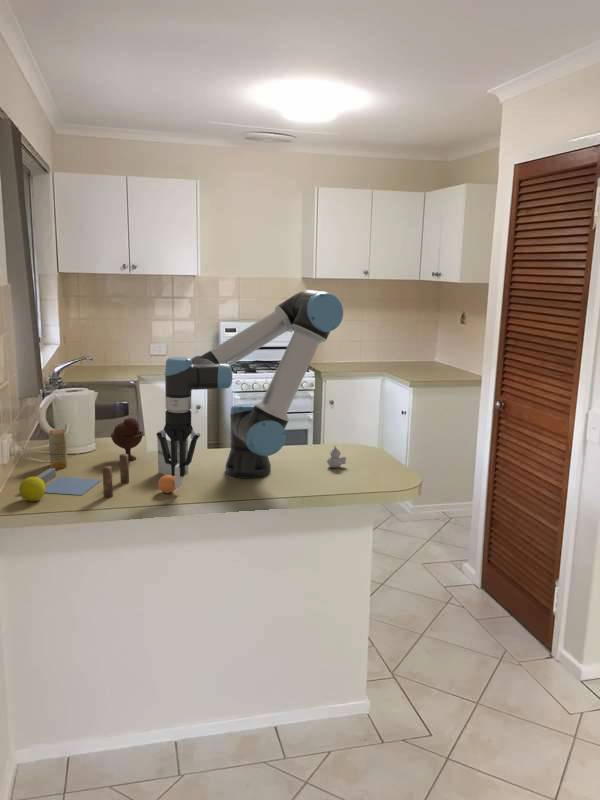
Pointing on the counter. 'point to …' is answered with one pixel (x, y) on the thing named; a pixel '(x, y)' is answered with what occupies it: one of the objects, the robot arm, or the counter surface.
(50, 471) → the blue-grey rod
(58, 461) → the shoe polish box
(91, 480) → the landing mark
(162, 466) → the supplement box
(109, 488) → the left post
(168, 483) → the ball
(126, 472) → the right post
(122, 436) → the ice cream bowl
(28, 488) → the tennis ball
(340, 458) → the grey figurine
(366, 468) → the counter surface
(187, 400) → the robot arm
